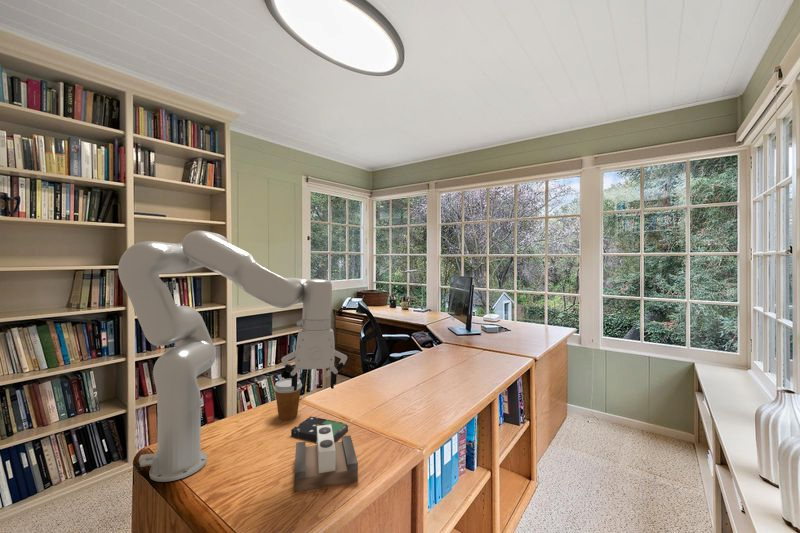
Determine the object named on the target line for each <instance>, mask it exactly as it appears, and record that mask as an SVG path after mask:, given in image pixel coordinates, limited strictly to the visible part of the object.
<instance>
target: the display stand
mask: <svg viewBox="0 0 800 533" xmlns="http://www.w3.org/2000/svg"><path fill="white" fill-rule="evenodd" d="M306 441H307V440H305V441H299V442H295V454H294V455H295V456H294V458H295V460H294V471H293V472H294V478H293V479H294V481H293V482H294V483H293V484H294V488H293V489H294V490H293V491H294V492H295V493H297V492H302V491H308V490H314V489H320V488H326V487H330V486H337V485H342V484H343V485H344V484H348V483H354V482H355V481H356V482H359V481H358V480H359V476H358V475H359V463H358V459H357V458H358V457H357V454H356V450H355V447H354V443H353V439H352V435H351V434H350V435H342V436H341V441H336V442H335V443H334V444H335V450H336V460H335V471H331V472H324V473H319V470H318V454H317V444H315V445H308V446H307V445H306Z"/></svg>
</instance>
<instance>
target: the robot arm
mask: <svg viewBox="0 0 800 533" xmlns="http://www.w3.org/2000/svg"><path fill="white" fill-rule="evenodd" d="M200 268H206V269H208V270H210V271H212V272H214V273H216V274H218V275H220V276H222V277H224V278H226V279H228V280H230V281H231V282H233V283H234V284H235V285H236V286H238V287H239V288H240V289H242V290H243V291H244V292H246V293H247V294H248V295H250V296H252V297H254V298H256V299H258V300H260V301H262V302H264V303H266V304H268V305H270V306H272V307H275V308H278V309H285V308H289V307H291V306H294V305H298V304H302V319H299V320H296V326H299V327H300V328H301V329H299V330H298V334H297V338H296V339H297V340H296V343H295V344H296V345H295V350H294V351H293V352H290V353H288V354H286V355H284V356H282V358H281V363H282V365H283V367H284V369H285V370H286V371H287V372H288V373H289V374H290V376H291V379H292V382H291V387H293V386H294V391H296V390H297V379H298V376H299V374H298V372H299V371H300V370H320V369H321V370H323V369H330V370H331V371H330V389H332V390H333V389H335V388H334V387H335V385H337V374H338V373H339V372H340V370H342V368H344V366H345V364H346V362H347V360H348V356H347V354H344V353H342V352H341V351H338V350H336V349H335V333H334V330H333V329H332V328H331V326H332V325H331V323H332V322H331V321H332V302H333V301H332V296H333V284H332V282H331V280H329V279H321V278H319V279H318V278H317V279H316V278H315V279H311V278H310V279H307V278H306V279H304V278H300V277H291V276H290V277H283V276H281V275H278V274H277V273H275V272H273V271H272V270H271V271H270V270H269V269H267V268H266V267H263V266H262V265H260V264H259V263H258V262H257V261H256V260H255V258H254V256H253V255H252V254H251V253H250V252H248V251H247V250H244V249H242V248H240V247H238V246H236V245H234V244H232V243H230V241H229V240H228V239H227V237H226V236H224V235H221V234H219V233H216V232H211V231H208V230H207V231H206V230H194V231H191V232H189V233H188V234H186V235H185V236H184V237H183V239H182V240H181V242H179V243H173V242H165V241H164V242H163V241H159V240H157V241H155V240H147V241H140V242H137V243H134V244H132V245H131V246H129V247H128V248H127V249H126V250H125V251H124V252H123V254H122V255H121V256H120V259H119V262H118V267H117V269H118V270H117V271H118V272H117V273H118V277H119V280H120V283H121V286H122V287H123V289H124V291H125V292H126V295H127V297H128V298H129V300H130V303H131V305H132V308H133V310H134V311H133V312H134V313H135V315H136V318H137V320H138V322H139V325H140V327H141V330H142V332H143V334H144V337H145V338H146V340H147V341H148V342H149V343H150V344H151V345H153V346H156V347H164V346H168V345H171V344H175V346H176V347H173V348H172V349H169V350H167V351H166V352H164V353H162V354H161V355H160V356H159V357H158V358H157V360H156V361H155V363H154V365H153V369H152V370H153V372H152V374H153V382H154V385H155V390H156V391H155V392H156V398H157V399H156V403H157V404H156V406H157V409H156V412H157V418H156V419H157V432H156V434H157V437H156V438H157V439H156V440H157V442H156V444H157V445H156V448H157V450H156V451H155V452H154V453H146V454H141V455H140V456H139V458H138V463H139V467H140V468H143V467H148V466H150V470H149V472H148V473H149V479H151V480H152V481H155V482H159V483H160V482H161V483H166V482H168V483H169V482H172V481H173V482H174V481H177V480H178V481H179V480H181V479H184V478H187V477H189V476H191V475H193V474H195V473H197V472H199V471H200V470H201V469H203V467H204V466H205V465H206V463H207V460H208V454H207V453H206V452H205V451H203V450H201V441H202V440H201V424H202V423H201V419H202V416H201V414H202V412H201V409H202V407H201V406H202V404H201V402H202V401H201V400H202V399H201V390H200V386H199V383H198V381H197V377H199V375H201V374H203V373H204V372H206V371H208V370H209V369H210V368H211V367H212V366H213V365H214V364H215V361H216V355H217V352H216V349H215V348H216V347H215V345H214V342H213V340H212V338H211V335H210V333H209V330H208V328H207V326H206V322H205V321H204V318H203V316H202V315H201V314H200V313H199V311H198V310H197V309H196V308H194V307H191V306H188V305H177V304H176V302H175V300H174V298H173V296H172V293H171V290H170V289H169V287H168V286H167V284H165V282H164V281H163V280H162V279H161V277H160V274H166V275H168V274H179V273H184V272H185V273H186V272H189V271H193V270H196V269H197V270H198V269H200ZM335 357H336V358H339V359H340V361H339V362H338V363H337V364H335V359H336V358H335ZM294 358H295V359H294ZM292 359H294V361H295V362H294V366H292V365H291V364H290V363H289V360H292Z"/></svg>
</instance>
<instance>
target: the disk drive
mask: <svg viewBox="0 0 800 533" xmlns="http://www.w3.org/2000/svg"><path fill="white" fill-rule="evenodd" d="M330 424H331V425H332V432H333V438H334V443H336V442H338V440H339V439H340V438H342V436H345V433H348V431H349V425H348V424H347V423H345V422H342V421H337V420H331V419H325V418H321V417H316V416H312V415H311V416H308V418H306V419H304V420H303V421H302V422H300V423H299V425H298V426H294V427H293V428H291V430H290V437H292V438H296V439H300V440H305V441H308V442H314V443H317V426H322V425H330Z"/></svg>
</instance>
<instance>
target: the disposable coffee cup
mask: <svg viewBox="0 0 800 533" xmlns="http://www.w3.org/2000/svg"><path fill="white" fill-rule="evenodd" d="M291 382H292V378H284V379H281V380H280V379H279V380H278V381H276V382H275V384H274V387H273V389H274V391H275V401H276V408H277V416H278V419H279V420H280V421H290V420H294V419H296V418H297V417H298V412H299V406H300V396H301V390H302V387H303V384H302V380H301V379H298V378H297V390H296V391H294V386H293V387H291Z"/></svg>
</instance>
